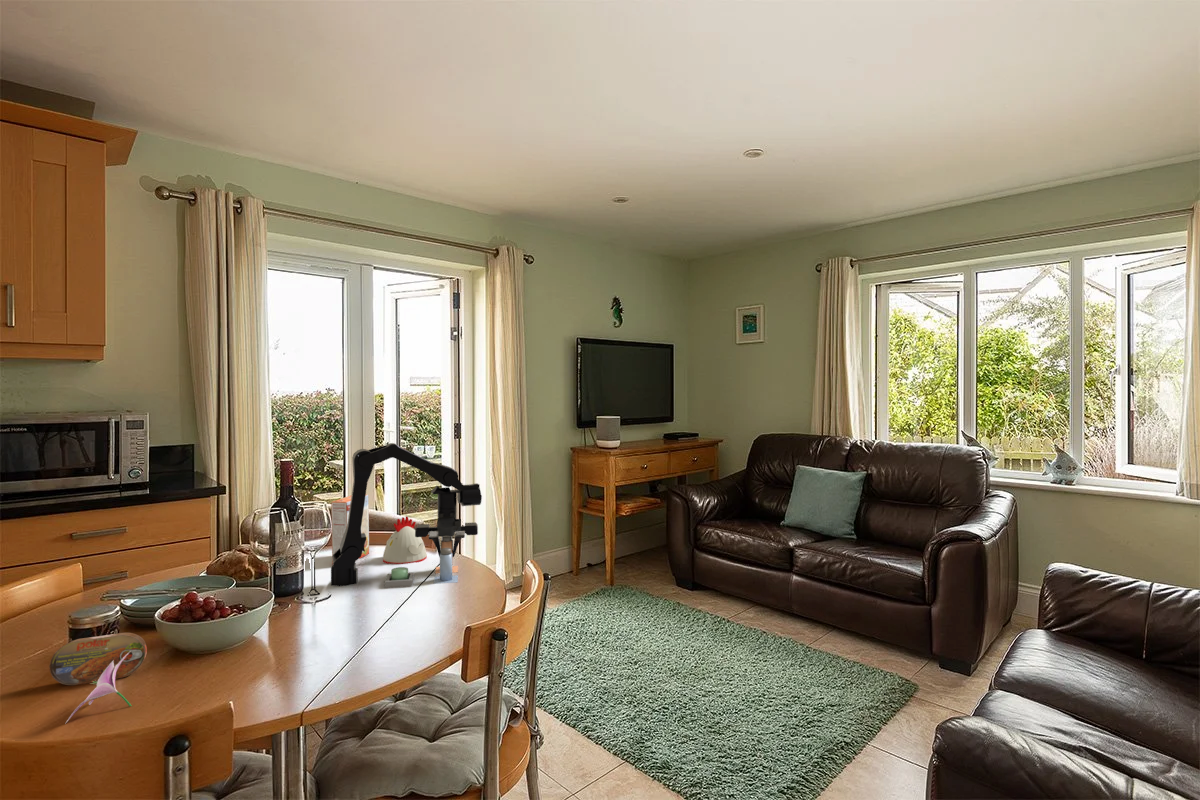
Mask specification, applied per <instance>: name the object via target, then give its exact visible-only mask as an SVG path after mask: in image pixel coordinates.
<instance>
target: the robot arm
mask: <svg viewBox="0 0 1200 800" xmlns="http://www.w3.org/2000/svg"><path fill="white" fill-rule="evenodd" d="M351 458H352V459H351V460H352V461H351V462H352V476H353V478H352V479H353V482H352V490H351V495H352V496H351V495H350V496H351V503H350V510H349V517H348V524H347V528H346V530H345V533H344V535H343V538H342V541H341V544H340V548H339V549H338V550H337V551H336V552H335V553H334V554H333V555H332V554H331V560H332V559H333V564H332V565H331V566H330V586H335V587H347V586H350V585H356V584H357V583H358V581H359V568H357V565H356V564H357V563H356V561H358V560H359V558H360V557H361V555H362V551H364V552H365V549H364V545H365V542H366V535H365V533H361V525H362V518H363V510H364V503H365V496H366V495H367V488H368V482H369V479H370V478H371V474H372V472H373V470H374V466H375V465H376V464H379V463H382V462H384V461H387V460H390V459H395V460H398V461H399V462H402V463H404V464H407V465H409V466H411V467H412V468H414V469H417V470H419V471H421V472H424V473H426V474H427V475H429V476H430V477H431V478H432V479H434V480H435V481H436V482H438V483H440V484H441V485H442V486H444V487H440V486H438V485H435V487H434V488H432V490H430V493H431V494H432V495H437V521H436V526H430V524H429V523H426V524H423V523H422V524H417V525H415V526H416V527H415V528H414V530H415V537H421V538H426V537H427V536H428V540H432V541H433V543H434V545H435V548H436V551H437V554H438V556H439V557H438V558H440V553H441V539H440V537H441V538H442V537H443V536H452V537H453V536H454V538H453V539H454V540H453V558H454V557H455V555H456V552H457V548H458V545H459V543H460V542H461V539H465V537H466V536H477V535H478V534H479V527H478V525H479V524H478V523H477V522H464V525H462V519H461V518H457V503H458V504H460V506H461V507H469V506H470V507H471V506H480V505H481V504H482V499H483V496H482V492H481V488H480V484H479V483H471V484H463V482H461V481H460V480H459V479H460V478H459V473H458V471H456V469H454V468H452V467H450V466H447V465H444V464H442V463H441V464H440V463H437V462H434V461H430V460H428V459H425V458H424V457H421V456H420V455H417V454H415V453H413V452H411V451H409V450H407V449H405V448H403V447H401V446H399V445H398V444H396V443H393V442H391V443H388V444H385V445H382V446H381V445H380V446H377V447H374V448H371V449H367V448H361V449H357V450H356V451H355V452H354V453H353V454H352V457H351ZM450 487H451V488H452V487H453V488H454V489H451V488H450ZM360 559H361V558H360Z"/></svg>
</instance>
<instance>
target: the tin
mask: <svg viewBox="0 0 1200 800" xmlns="http://www.w3.org/2000/svg"><path fill="white" fill-rule="evenodd" d="M146 643H147V642H146V641H145V640H144V638H143V637H141V636H140V635H138V634H137V633H133V632H119V633H113V634H106V635H99V636H91V637H84V638H82V637H81V638H77V639H74V640H71V641H70V642H68V643H66V644H65V645H63V646H60V648H59V649H57V650H56V651H55V652H54V654H53V655H52V657H51V658H50V662H49V673H50V674H51V675H50V676H52V677H51V678H53V680H55V681H56V682H58V683H59V684H62V685H66V686H77V685H84V684H91V683H94V682H98V679H99V678H100V676H101V675H102V673H103V672H104V670H105V669H106V668H107V667H108V666H109V665H110V663H111V662H112V661H113V660H114V661H113V663H114V667H115V666H116V665H117V664H118V663H119V662H120V661H121V660H122V659H123V657H124V656H125V655H126V654H127V653H129V654H128V655H127V656H126V657H125V659H124V660H123V661H122V662H121V664H120V665H119V667H118V669H117V672H116V676H115V680H116V679H123V678H126V677H128V676H130V675H132V674H134V673H135V672H136V671H137V670H138V669H139V668H140V667H141V666H142V665H143V663H144V661H145V659H146V656H147V652H148V647H147V644H146ZM94 679H95V680H96V681H95V680H94ZM92 681H94V682H92Z"/></svg>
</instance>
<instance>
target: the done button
mask: <svg viewBox="0 0 1200 800" xmlns="http://www.w3.org/2000/svg"><path fill="white" fill-rule="evenodd" d="M408 573H409V568H408V567H405V566H403V567H402V566H399V567H394V568H392V569H391V571H390V574H391V580H406V579H408Z"/></svg>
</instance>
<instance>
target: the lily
mask: <svg viewBox="0 0 1200 800" xmlns="http://www.w3.org/2000/svg"><path fill="white" fill-rule="evenodd" d="M128 654H129V653H127V654H126V655H125V656H124V657H123V659H122V660H121V661H120V662H119V663H118V664H117V665H116V666H115V667H114V663H113V661H114V660H113V661H112V662H111V663H110V665H109V666H108V667H107V668H106V669H105V670H104V672H103V673H102V675H101V676H100V678H99V679H98V682H94V681H92V682H91V683H90V685H92V684H93V685H95V684H96V687H95V688H94V689H93V690H92V691H91V692H90V693H89V694H88V696H87V697H86V699H84V700H83V701H82V702H80V704H78V706H77V707H76V708H75V709H74V710H73V712H71V714H70V716H69V717H68V719H67V720H66V722H65V725H66V724H67V723H68V722H69V720H70V719H71V718H72V717H73V716H74V715H75V714H76V713H77V711H78V710H79V709H80V708H81V707H82V706H83V705H84V704H86V703H88V705H89V706H90V705H91V704H92V703H93V702H94V700H96V699H98V698H99V699H100V698H102V697H105V696H106V695H107V696H108V695H110V694H112V693H114V694H117V695H118V696H119V697H120V698H121V699H122V700H123V701H124V702H125V703H126V704H127V705H128V707H130V706H131V707H132V706H133V705H132V704H131V703H130V702H129V701H128V699H126V697H125V696H124V695H123V694H122V693H120V691H118V690H117V688H116V679H115V676H116V672H117V669H118V667H119V665H120V664H121V662H122V661H123V660H124V659H125V657H126V656H127V655H128ZM94 680H95V679H94ZM95 681H96V680H95Z"/></svg>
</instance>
